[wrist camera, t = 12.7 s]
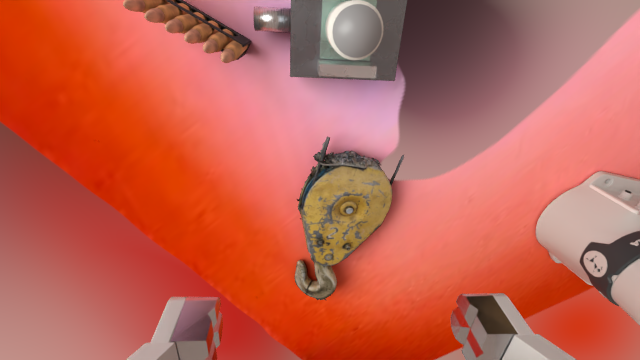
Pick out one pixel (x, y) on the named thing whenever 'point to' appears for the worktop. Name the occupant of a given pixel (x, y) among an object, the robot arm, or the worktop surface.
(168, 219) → the worktop surface
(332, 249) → the pulley block
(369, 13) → the white domed cylinder
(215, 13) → the worktop surface
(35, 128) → the worktop surface
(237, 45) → the ammunition clip
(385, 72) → the motor
